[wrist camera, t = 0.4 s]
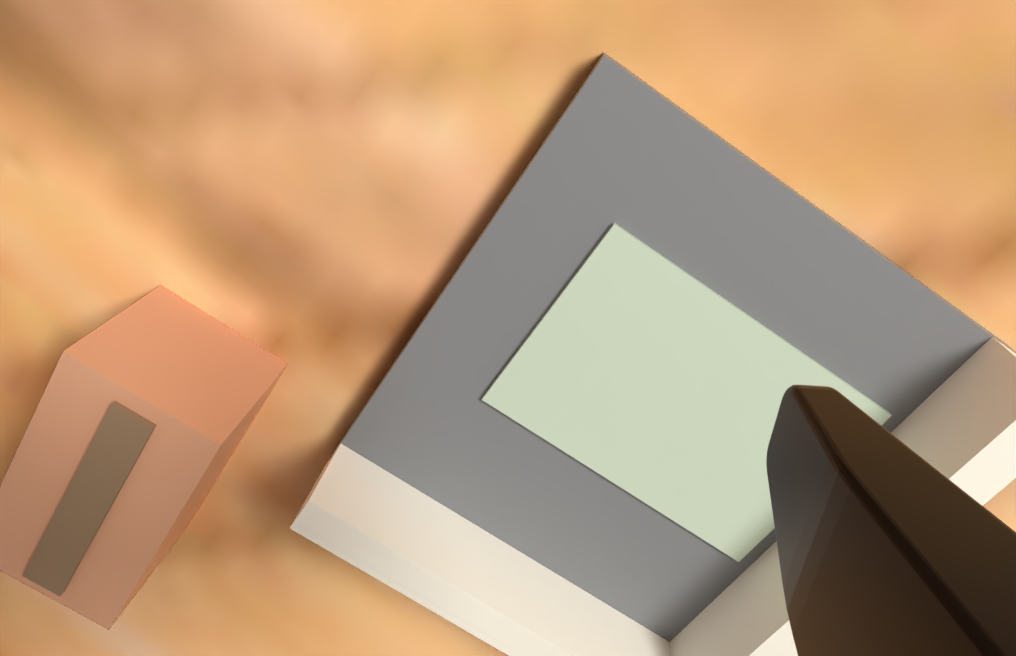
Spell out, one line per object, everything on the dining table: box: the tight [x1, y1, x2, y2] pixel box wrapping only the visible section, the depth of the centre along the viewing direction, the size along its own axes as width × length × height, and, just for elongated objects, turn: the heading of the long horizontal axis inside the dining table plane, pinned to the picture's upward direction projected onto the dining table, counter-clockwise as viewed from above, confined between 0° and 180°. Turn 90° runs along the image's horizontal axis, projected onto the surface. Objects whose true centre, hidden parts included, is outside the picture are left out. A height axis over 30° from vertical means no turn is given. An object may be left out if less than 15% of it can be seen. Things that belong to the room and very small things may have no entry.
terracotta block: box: [0, 285, 287, 630], centre depth 24 cm, size 8×4×5 cm, turn 146°
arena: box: [290, 53, 1016, 656], centre depth 22 cm, size 15×14×4 cm
